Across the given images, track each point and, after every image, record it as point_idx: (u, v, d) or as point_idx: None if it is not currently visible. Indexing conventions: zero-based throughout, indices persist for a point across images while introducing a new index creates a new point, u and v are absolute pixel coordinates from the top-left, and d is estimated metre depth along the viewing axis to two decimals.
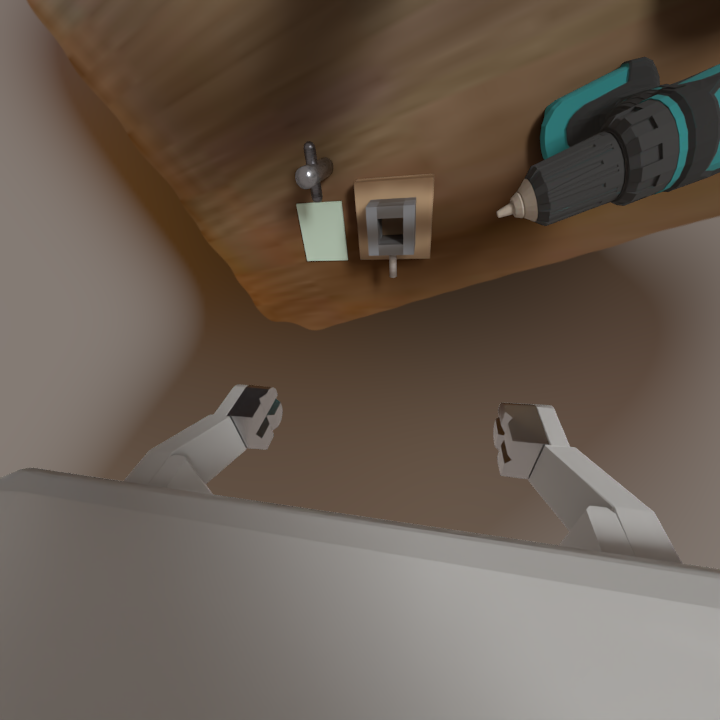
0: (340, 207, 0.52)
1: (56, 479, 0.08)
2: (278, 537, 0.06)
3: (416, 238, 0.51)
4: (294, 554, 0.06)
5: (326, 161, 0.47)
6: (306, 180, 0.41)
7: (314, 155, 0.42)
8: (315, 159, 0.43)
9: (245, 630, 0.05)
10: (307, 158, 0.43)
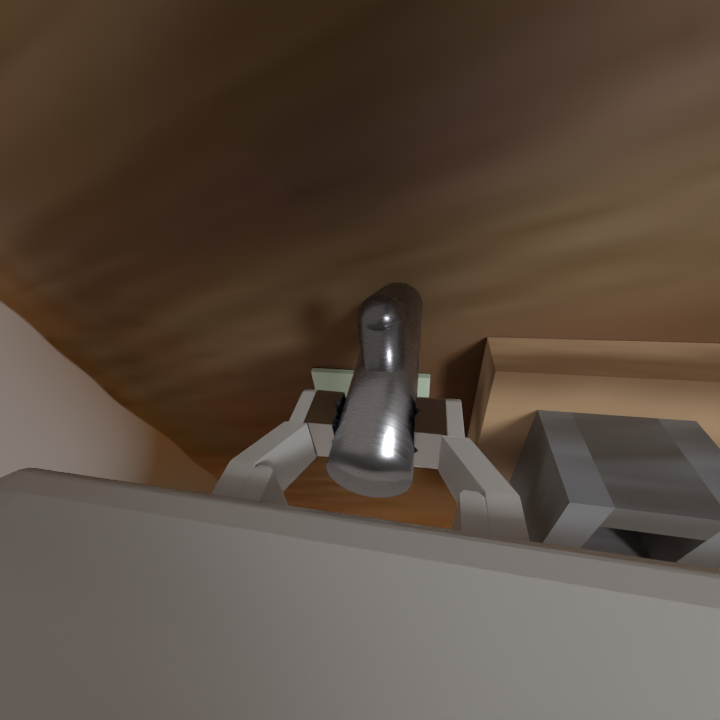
0: (426, 388, 0.20)
1: (56, 479, 0.08)
2: (278, 537, 0.06)
3: None
4: (294, 554, 0.06)
5: (413, 309, 0.15)
6: (375, 480, 0.09)
7: (402, 343, 0.10)
8: (401, 355, 0.11)
9: (246, 630, 0.05)
10: (369, 357, 0.11)
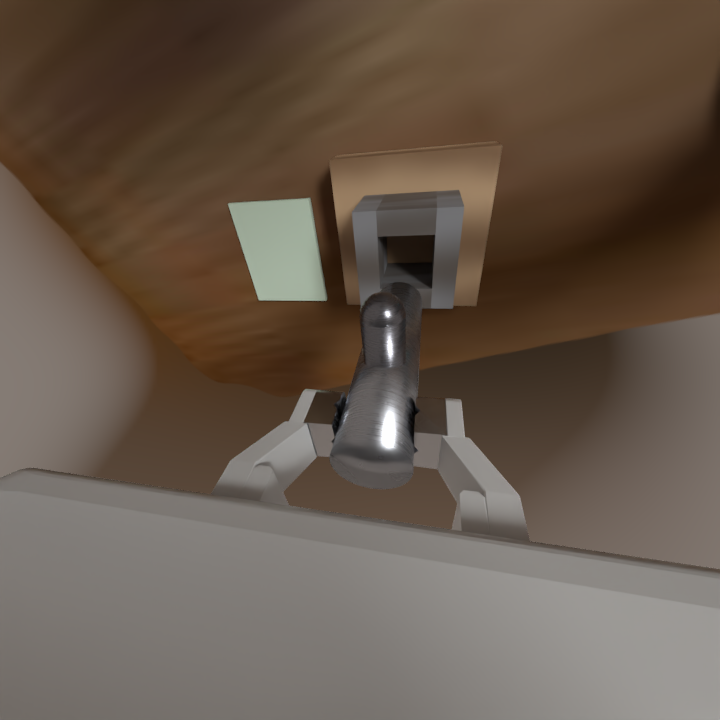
0: (308, 210, 0.28)
1: (56, 479, 0.08)
2: (278, 537, 0.06)
3: None
4: (294, 554, 0.06)
5: (413, 307, 0.15)
6: (377, 471, 0.10)
7: (403, 340, 0.11)
8: (402, 351, 0.11)
9: (245, 630, 0.05)
10: (371, 352, 0.11)
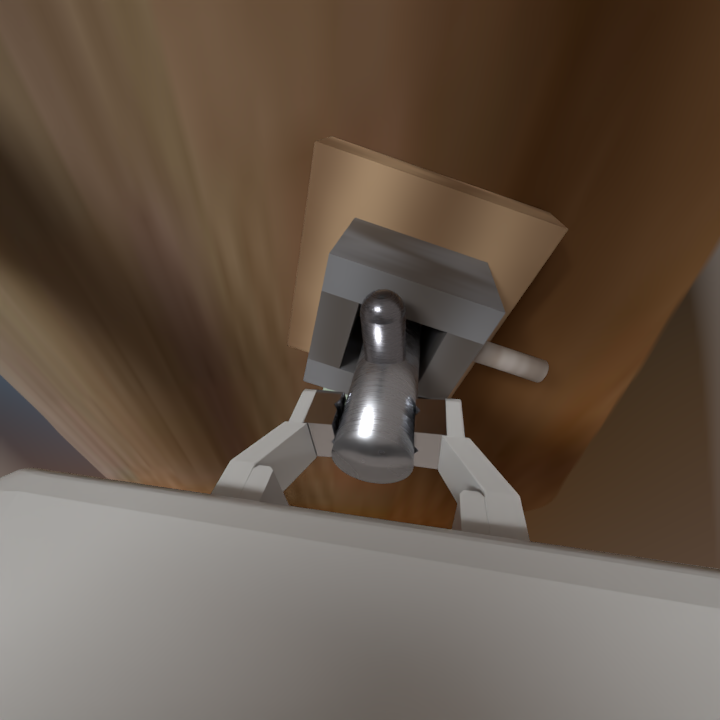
0: None
1: (56, 479, 0.08)
2: (278, 537, 0.06)
3: (472, 253, 0.15)
4: (294, 554, 0.06)
5: None
6: (378, 466, 0.10)
7: (403, 336, 0.11)
8: (402, 347, 0.11)
9: (245, 629, 0.05)
10: (371, 349, 0.11)
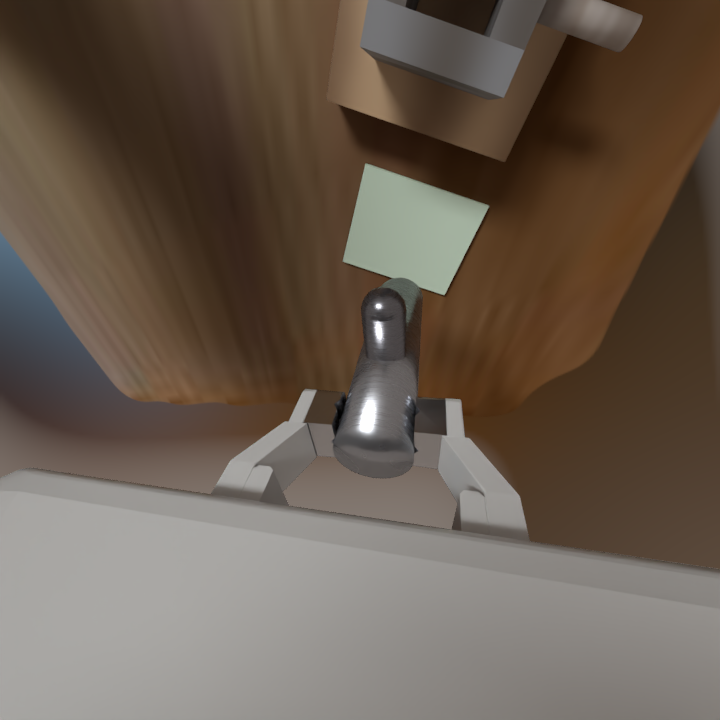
0: (376, 170, 0.24)
1: (57, 479, 0.08)
2: (278, 537, 0.06)
3: None
4: (294, 554, 0.06)
5: (413, 302, 0.15)
6: (379, 461, 0.10)
7: (403, 333, 0.11)
8: (403, 345, 0.11)
9: (246, 630, 0.05)
10: (372, 346, 0.11)
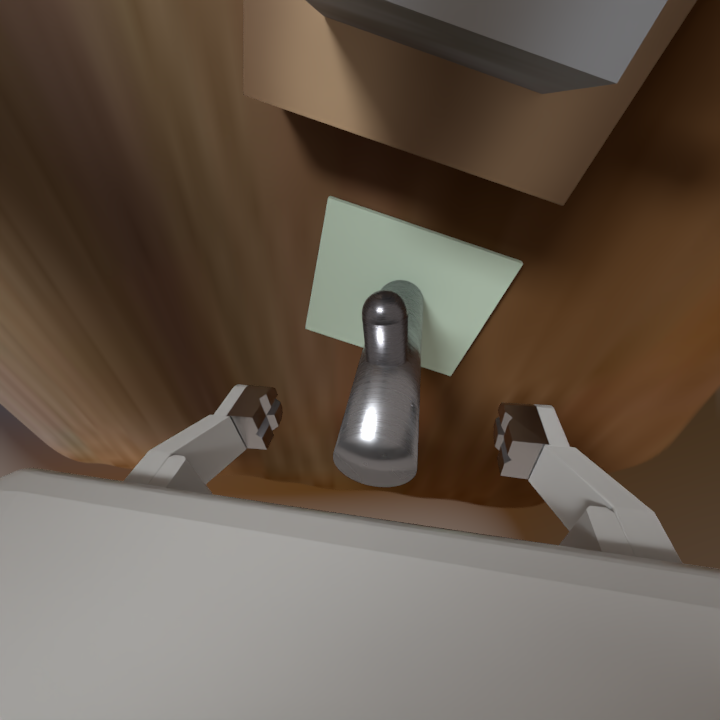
0: (345, 208, 0.15)
1: (56, 479, 0.08)
2: (278, 537, 0.06)
3: None
4: (294, 554, 0.06)
5: (414, 305, 0.15)
6: (381, 470, 0.10)
7: (405, 338, 0.11)
8: (404, 349, 0.11)
9: (245, 629, 0.05)
10: (373, 351, 0.11)
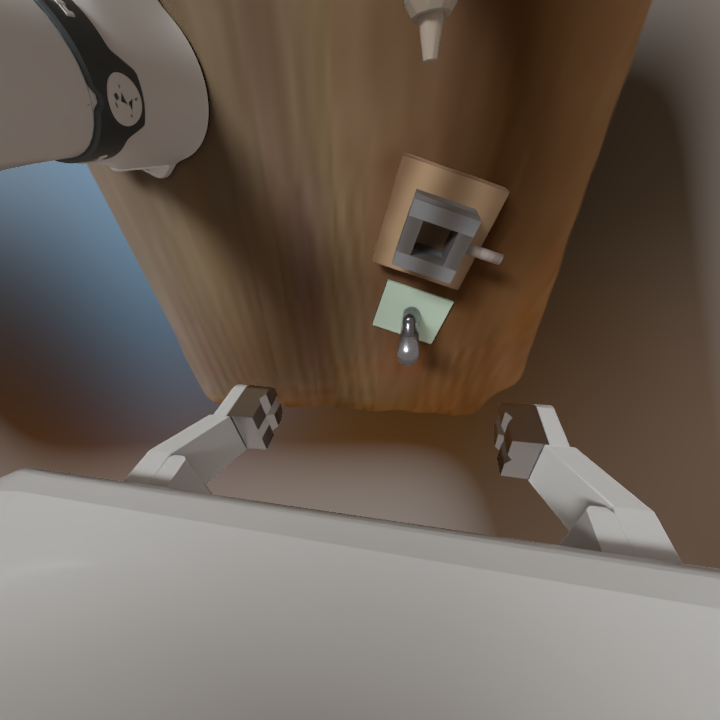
0: (393, 283, 0.44)
1: (56, 479, 0.08)
2: (278, 537, 0.06)
3: (469, 204, 0.34)
4: (294, 554, 0.06)
5: (417, 316, 0.44)
6: (409, 358, 0.39)
7: (414, 326, 0.40)
8: (414, 329, 0.40)
9: (246, 629, 0.05)
10: (406, 330, 0.40)
